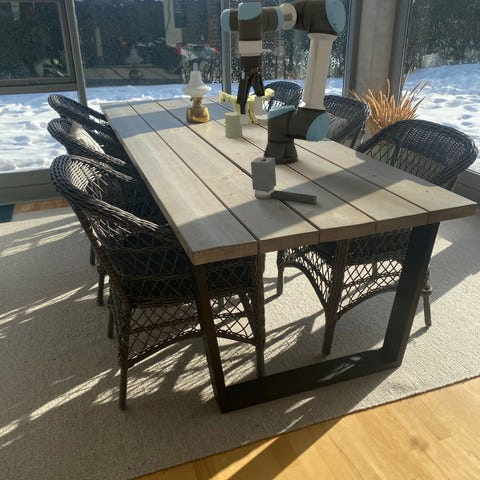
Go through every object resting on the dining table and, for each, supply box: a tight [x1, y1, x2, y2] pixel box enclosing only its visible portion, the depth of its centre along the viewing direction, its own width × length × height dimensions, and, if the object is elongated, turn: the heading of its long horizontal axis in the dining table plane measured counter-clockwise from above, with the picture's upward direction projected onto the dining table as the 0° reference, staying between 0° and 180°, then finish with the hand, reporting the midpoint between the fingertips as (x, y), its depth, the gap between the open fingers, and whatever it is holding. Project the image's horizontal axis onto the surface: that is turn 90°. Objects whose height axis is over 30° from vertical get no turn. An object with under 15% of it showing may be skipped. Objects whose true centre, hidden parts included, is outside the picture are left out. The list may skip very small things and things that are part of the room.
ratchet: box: [254, 187, 318, 206], centre depth 172 cm, size 7×22×6 cm, turn 65°
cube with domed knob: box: [250, 157, 277, 191], centre depth 173 cm, size 6×6×10 cm
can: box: [224, 111, 243, 139], centre depth 256 cm, size 9×9×12 cm
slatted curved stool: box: [218, 88, 275, 125], centre depth 288 cm, size 30×16×18 cm, turn 100°
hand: (251, 119), depth 170 cm, fingers open, 13 cm apart
